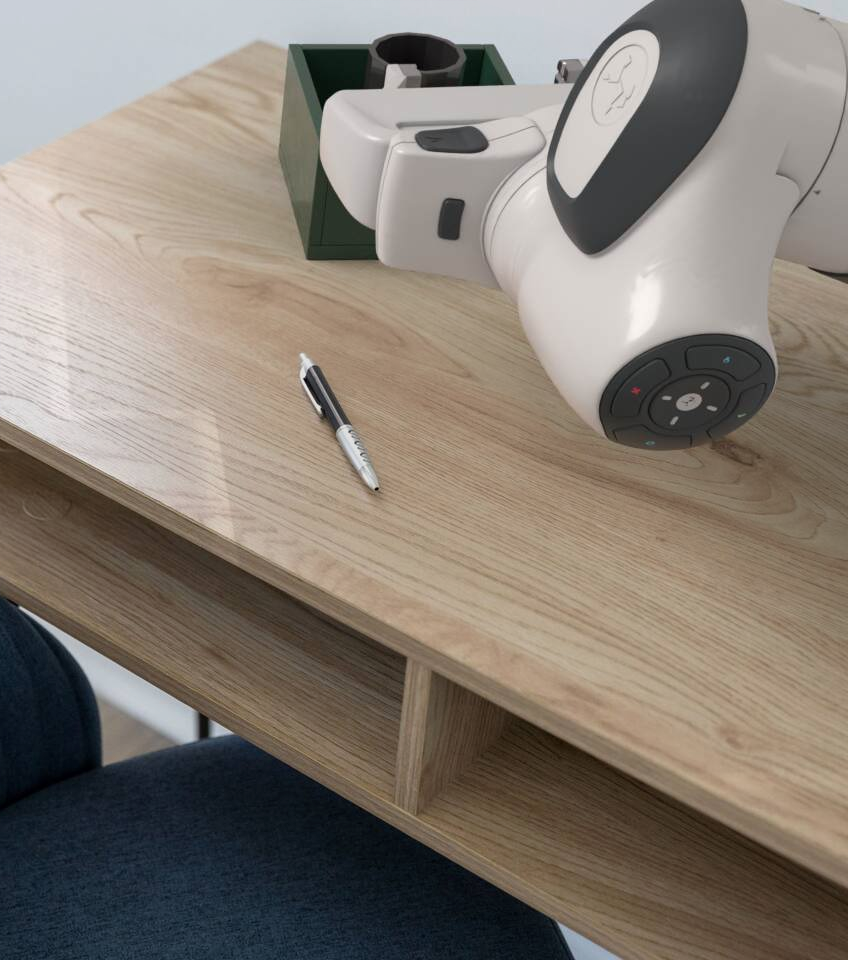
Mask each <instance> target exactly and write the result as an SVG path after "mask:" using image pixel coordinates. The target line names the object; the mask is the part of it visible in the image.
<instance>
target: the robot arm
mask: <svg viewBox="0 0 848 960" xmlns="http://www.w3.org/2000/svg"><path fill="white" fill-rule="evenodd" d="M416 68H417V66H416V64H390V65H388V66H387V69H386V76H385V84H384V88H383V89H368V90H341V91H338V92H336V93H335V94H334V95H332V96H331V97H330V98H329V99H328V100H327V101H326V103H325V106H324V110H323V116H322V123H321V133H320V159H321V162H322V165H323V168H324V170H325V173H326V175H327V177H328V179H329V181H330V183H331V185H332V187H333V188H334V190H335V192H336V194H337V195H338V197H339V199H340V200H341V202H342V203H343V205H344V206H345V208H346V209H347V210H348V212H349V213H350V214H351V215H352V216H353V217H354V218H355V219H356V220H357V221H359V222H360V223H361V224H363V225H365V226H367V227H368V228H371V229H373V230H376V253H377V256H378V258H379V259H378V260H379V261H380V263H382V265H385V266H386V267H388V268H390V269H395V270H401V271H407V272H414V273H415V272H416V273H421V274H428V275H435V276H441V277H447V278H452V279H456V280H460V281H464V282H468V283H471V284H475V285H478V286H482V287H485V288H487V289H491V290H495V291H497V292H503V293H505V295H506V296H507V298H508V299H509V300H510V301H511V302H513V304H515V306H517V310H518V317H519V321H520V325H521V327H522V330H523V332H524V334H525V337H526V339H527V340H528V343H529V344H530V346H531V348H532V350H533V352H534V354H535V356H536V358H537V360H539V363H540V364H541V366H542V368H543V370H544V371H545V373H546V375H547V376H548V378H549V379H550V381H551V382H552V383H553V385H554V387H555V388H556V390H557V392H558V393H559V394H560V395H561V397H562V399H564V400H565V401H566V403H567V405H569V407H570V408H571V409H572V410H573V411H574V412H575V414H577V416H578V417H579V418H580V419H581V420H582V421H583V422H584V423H585V424H586V425H587V426H589V427H590V428H591V429H592V430H594V431H595V432H596V433H597V434H599V435H600V436H602V437H603V438H605V439H607V440H609V441H611V442H613V443H615V444H618V445H621V446H624V447H625V446H626V447H629V448H633V449H639V450H645V451H647V450H648V451H661V452H667V451H681V450H687V449H691V448H697V447H699V446H703V445H706V444H709V443H712V442H714V441H717V440H719V439H722V438H724V437H726V436H728V435H730V434H732V433H733V432H735V431H737V430H738V429H740V428H741V427H742V426H744V425H746V424H747V423H748V422H749V421H751V420H752V419H753V418H754V417H755V416H756V415H757V414H758V413H759V412H761V410H762V409H763V408H764V406H765V405H766V404H767V403H768V401H769V400H770V398H771V396H772V395H773V392H774V390H775V388H776V385H777V381H778V376H779V375H778V374H779V365H778V358H777V351H776V348H775V344H774V342H773V338H772V335H771V331H770V326H769V311H768V310H769V307H768V306H769V296H770V286H771V277H772V271H773V266H774V261H775V259H777V260H781V261H785V262H788V263H791V264H795V265H800V266H803V267H805V268H807V269H809V270H810V271H813V272H815V273H817V274H820V275H822V276H825V277H828V278H830V279H833V280H835V281H838V282H841V283H842V284H846V285H848V23H846V22H844V21H840V20H837V19H834V18H831V17H828V16H824V15H821V12H819V11H817V10H815V9H812V8H808V7H805V6H801V5H799V4H795V3H792V2H790V1H787V0H652V1H650V2H648V3H647V4H645V6H643V7H641V8H640V9H639V10H637V11H636V12H635V13H633V14H632V15H631V16H630V17H628V18H627V19H626V20H625V21H623V23H621V24H620V25H619V26H618V27H617V28H615V29H614V31H612V32H611V33H610V34H609V35H607V37H605V38H604V40H602V42H601V43H600V44H599V45H598V47H597V48H596V49H595V50H594V52H593V53H592V55H590V58H589V59H588V58H568V59H559V60H558V62H557V65H556V70H557V71H558V72H557V73H556V74H555V75H554V80H553V83H539V84H537V83H535V84H534V83H533V84H516V85H500V86H467V87H435V88H420V85H421V78H422V75H421V73H420V71H419V70H418V69H416Z"/></svg>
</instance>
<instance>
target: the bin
mask: <svg viewBox="0 0 848 960" xmlns="http://www.w3.org/2000/svg"><path fill="white" fill-rule="evenodd" d="M371 44H372V43H289V44H288V45H287V46H288V47H287V57H286V69H285V78H284V89H283V98H282V99H283V100H282V108H281V109H282V110H281V120H280V129H279V130H280V132H279V143H278V151H277V152H278V153H277V155H278V159H279V162H280V166H281V171H282V173H283V178H284V181H285V185H286V189H287V192H288V196H289V200H290V204H291V206H292V210H293V214H294V219H295V222H296V225H297V230H298V233H299V237H300V240H301V244H302V247H303V251H304V256H305V259H306V260H379V258H378V256H377V253H376V230H373V229H371V228H368V227H367V226H365V225H363V224H361V223H360V222H359V221H357V220H356V219H355V218H354V217H353V216H352V215H351V214H350V213H349V212H348V210H347V209H346V208H345V206H344V205H343V203H342V202H341V200H340V199H339V197H338V195H337V194H336V192H335V190H334V188H333V187H332V185H331V183H330V181H329V179H328V177H327V175H326V173H325V170H324V168H323V165H322V162H321V159H320V133H321V123H322V116H323V110H324V106H325V103H326V101H327V100H328V99H329V98H330V97H331V96H332V95H334V94H335V93H336V92H338V91H341V90H363V89H364V81H365V74H366V66H367V58H368V50H369V47H370V46H371ZM455 44H456V45H458V46H459V47H461V48H462V50H463V51H464V53H465V55H466V63H465V69H464V75H463V81H462V87H467V86H500V85H517V84H516V82H515V80H514V78H513V76H512V74H511V73H510V71H509V69H508V67H507V65H506V63H505V62H504V60H503V58H502V56H501V54H500V52H499V51H498V49H497V47H496V45H495V43H455Z"/></svg>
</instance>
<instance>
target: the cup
mask: <svg viewBox="0 0 848 960" xmlns="http://www.w3.org/2000/svg"><path fill="white" fill-rule="evenodd" d="M370 44H371V46H370V47H369V50H368V58H367V66H366V74H365V81H364V89H363V90H368V89H383V88H384V84H385V76H386V69H387V66H388V65H390V64H416V66H417V68H416V69H418V70H419V71H420V73H421V75H422V78H421V85H420V88H435V87H462V81H463V75H464V69H465V63H466V55H465V53H464V51H463V50H462V48H461V47H459V46H458V45H456V44H457V43H455V42H453V41H451V40H450V39H447V38H445V37H441V36H437V35H434V34H430V33H421V32H412V31H410V32H409V31H406V32H396V33H387V34H385V35H383V36H381V37H378V38H376V39H374V40H373V41H372V43H370Z"/></svg>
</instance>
